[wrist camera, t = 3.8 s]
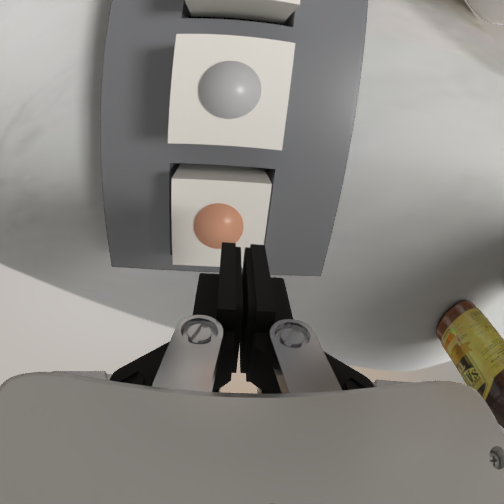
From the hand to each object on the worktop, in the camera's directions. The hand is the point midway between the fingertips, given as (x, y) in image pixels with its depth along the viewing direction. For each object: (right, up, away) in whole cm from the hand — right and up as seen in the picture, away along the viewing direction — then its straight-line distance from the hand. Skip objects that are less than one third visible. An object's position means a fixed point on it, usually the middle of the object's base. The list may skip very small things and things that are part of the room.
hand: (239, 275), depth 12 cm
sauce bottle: (+25, -7, +17) cm, 31 cm away
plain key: (-1, +10, +3) cm, 10 cm away
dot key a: (-2, +4, +7) cm, 8 cm away
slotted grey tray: (-1, +11, +4) cm, 12 cm away
